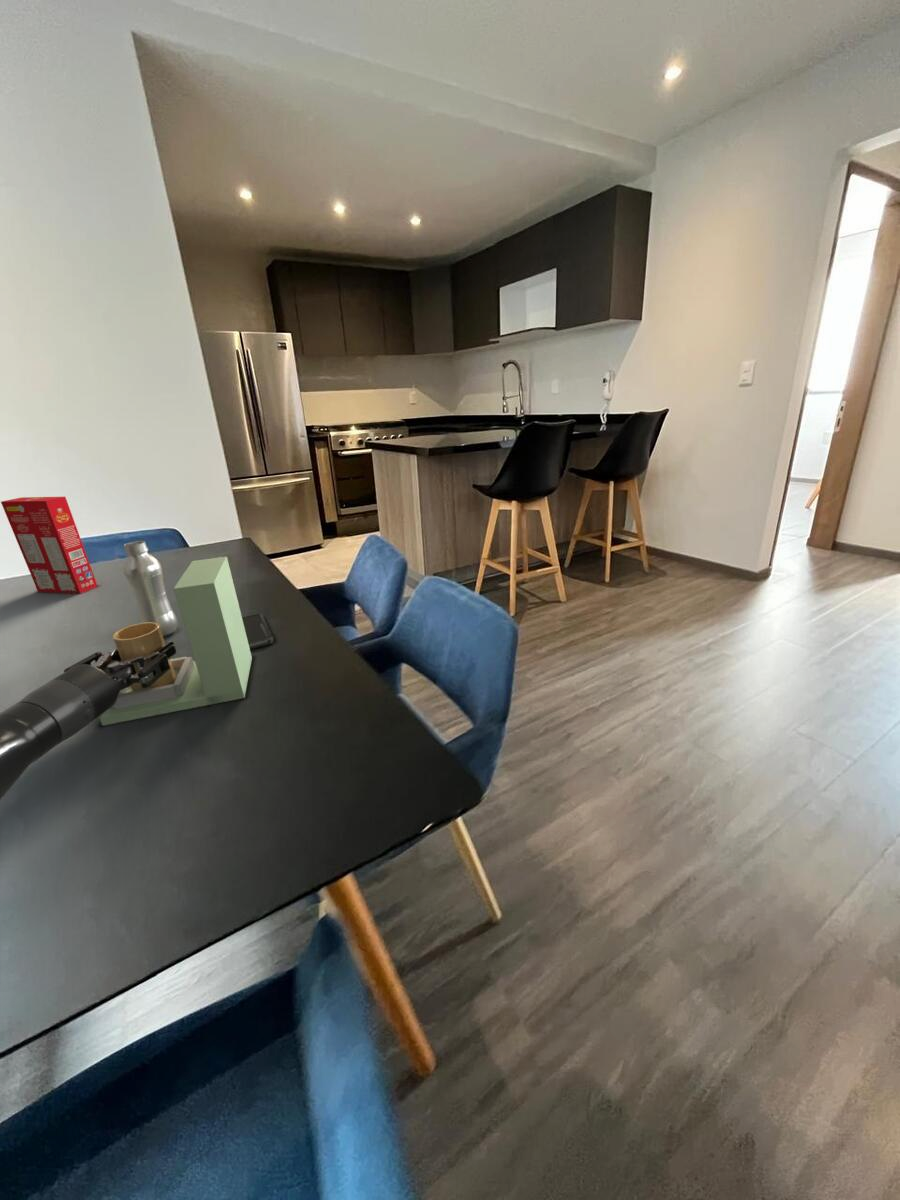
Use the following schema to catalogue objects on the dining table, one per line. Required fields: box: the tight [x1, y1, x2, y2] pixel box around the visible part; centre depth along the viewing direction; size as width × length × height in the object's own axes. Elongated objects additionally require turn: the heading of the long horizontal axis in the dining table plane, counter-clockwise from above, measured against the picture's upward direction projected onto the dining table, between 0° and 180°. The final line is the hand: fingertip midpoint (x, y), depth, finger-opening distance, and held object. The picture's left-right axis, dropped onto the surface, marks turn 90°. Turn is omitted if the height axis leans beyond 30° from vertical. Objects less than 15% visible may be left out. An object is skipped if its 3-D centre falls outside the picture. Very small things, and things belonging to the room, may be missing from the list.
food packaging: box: [0, 496, 98, 594], centre depth 131 cm, size 15×5×25 cm, turn 77°
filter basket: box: [112, 622, 176, 692], centre depth 80 cm, size 6×6×10 cm
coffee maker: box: [98, 556, 253, 726], centre depth 79 cm, size 20×14×20 cm
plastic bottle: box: [123, 540, 178, 637], centre depth 100 cm, size 6×7×20 cm
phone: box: [242, 613, 274, 651], centre depth 101 cm, size 8×1×15 cm
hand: (153, 646), depth 81 cm, fingers closed on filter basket, 6 cm apart
